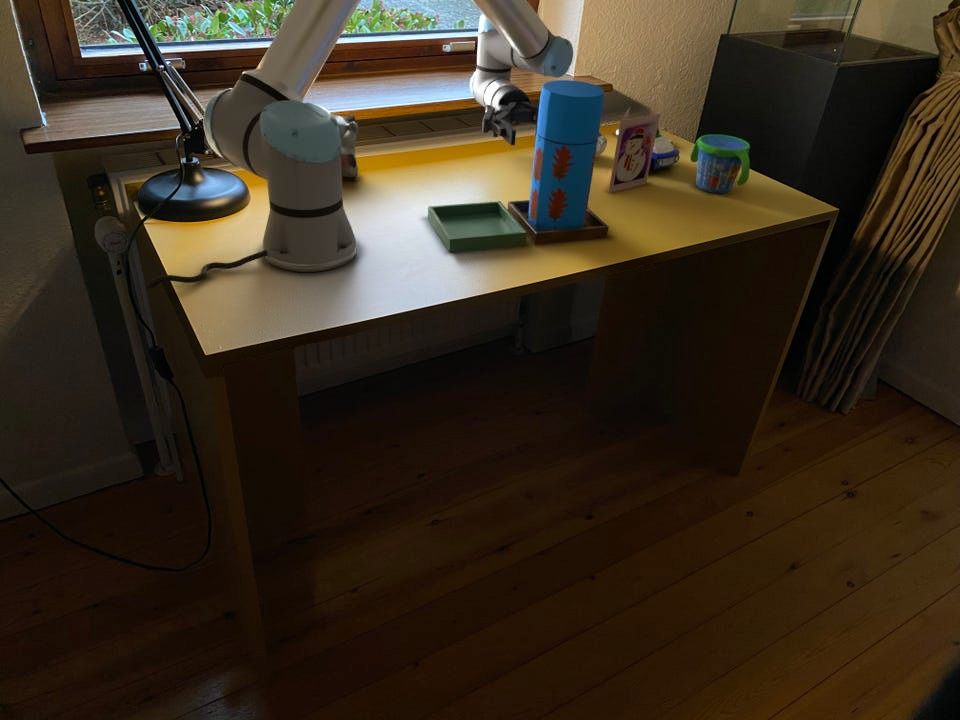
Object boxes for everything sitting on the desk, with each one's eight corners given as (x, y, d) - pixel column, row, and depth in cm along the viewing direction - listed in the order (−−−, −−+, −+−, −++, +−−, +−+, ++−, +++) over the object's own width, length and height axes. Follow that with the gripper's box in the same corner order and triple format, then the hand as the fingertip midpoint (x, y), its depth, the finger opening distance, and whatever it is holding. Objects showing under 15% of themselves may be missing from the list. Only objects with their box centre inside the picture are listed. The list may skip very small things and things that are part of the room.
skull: (569, 135, 175) (604, 110, 165) (583, 170, 175) (618, 146, 165) (546, 138, 170) (581, 112, 161) (560, 174, 170) (596, 150, 160)
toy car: (654, 177, 162) (663, 135, 157) (613, 161, 170) (620, 120, 164) (680, 170, 167) (689, 128, 162) (639, 154, 175) (647, 114, 169)
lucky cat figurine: (279, 174, 150) (285, 105, 149) (327, 185, 159) (333, 120, 158) (322, 174, 141) (330, 99, 139) (371, 185, 150) (378, 116, 148)
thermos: (581, 240, 134) (602, 100, 119) (523, 232, 135) (537, 92, 121) (586, 217, 142) (606, 84, 128) (532, 209, 144) (546, 77, 130)
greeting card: (611, 194, 153) (623, 122, 144) (587, 182, 158) (597, 111, 149) (649, 184, 159) (663, 114, 150) (624, 173, 163) (636, 105, 155)
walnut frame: (534, 244, 131) (536, 233, 130) (507, 212, 142) (508, 201, 141) (607, 237, 135) (609, 226, 134) (574, 206, 146) (576, 196, 145)
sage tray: (449, 252, 126) (449, 239, 125) (427, 218, 137) (428, 206, 136) (525, 245, 131) (527, 232, 129) (499, 213, 141) (500, 200, 140)
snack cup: (672, 176, 164) (682, 131, 158) (712, 173, 167) (723, 128, 161) (713, 204, 152) (725, 156, 146) (755, 199, 155) (769, 152, 149)
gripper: (560, 119, 159) (604, 152, 143) (450, 124, 152) (483, 159, 135) (564, 83, 155) (610, 113, 139) (451, 86, 147) (485, 118, 131)
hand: (547, 136), depth 137 cm, fingers open, 13 cm apart
